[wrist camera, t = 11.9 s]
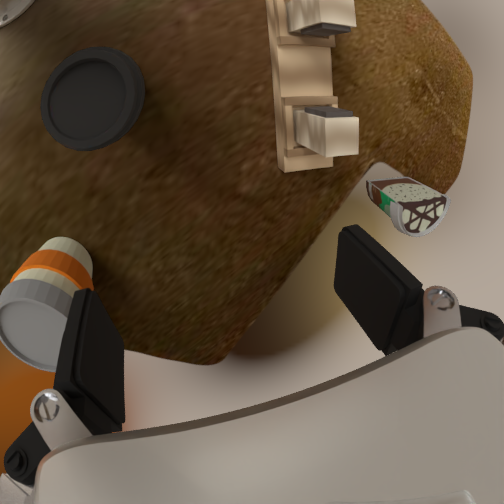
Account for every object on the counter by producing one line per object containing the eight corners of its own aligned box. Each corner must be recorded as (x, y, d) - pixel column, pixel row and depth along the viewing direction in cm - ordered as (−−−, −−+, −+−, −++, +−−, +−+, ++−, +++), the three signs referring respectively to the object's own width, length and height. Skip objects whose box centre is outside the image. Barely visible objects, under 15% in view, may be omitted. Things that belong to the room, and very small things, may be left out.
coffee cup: (97, 56, 24) (51, 39, 12) (162, 68, 27) (158, 52, 15) (79, 122, 28) (26, 149, 16) (142, 133, 31) (125, 164, 19)
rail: (263, -18, 24) (298, -47, 15) (315, -13, 25) (360, -34, 16) (277, 167, 38) (312, 195, 30) (324, 161, 39) (367, 187, 31)
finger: (292, 105, 32) (324, 112, 25) (321, 104, 32) (358, 112, 26) (294, 141, 34) (325, 157, 28) (322, 138, 35) (358, 154, 28)
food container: (355, 216, 46) (392, 247, 38) (358, 181, 43) (399, 207, 35) (407, 207, 48) (444, 233, 40) (412, 176, 45) (453, 198, 37)
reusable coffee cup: (102, 226, 36) (78, 300, 23) (107, 299, 42) (97, 377, 29) (24, 223, 31) (-23, 290, 19) (37, 294, 37) (12, 366, 25)
